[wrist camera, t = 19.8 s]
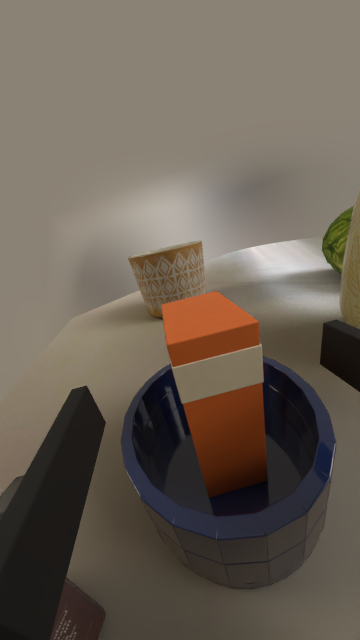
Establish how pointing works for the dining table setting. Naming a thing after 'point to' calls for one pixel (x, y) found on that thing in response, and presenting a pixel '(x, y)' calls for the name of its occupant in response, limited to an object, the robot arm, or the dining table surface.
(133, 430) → the pot
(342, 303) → the vase
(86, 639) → the box
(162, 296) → the planter
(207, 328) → the packet
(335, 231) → the lettuce
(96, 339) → the dining table surface
